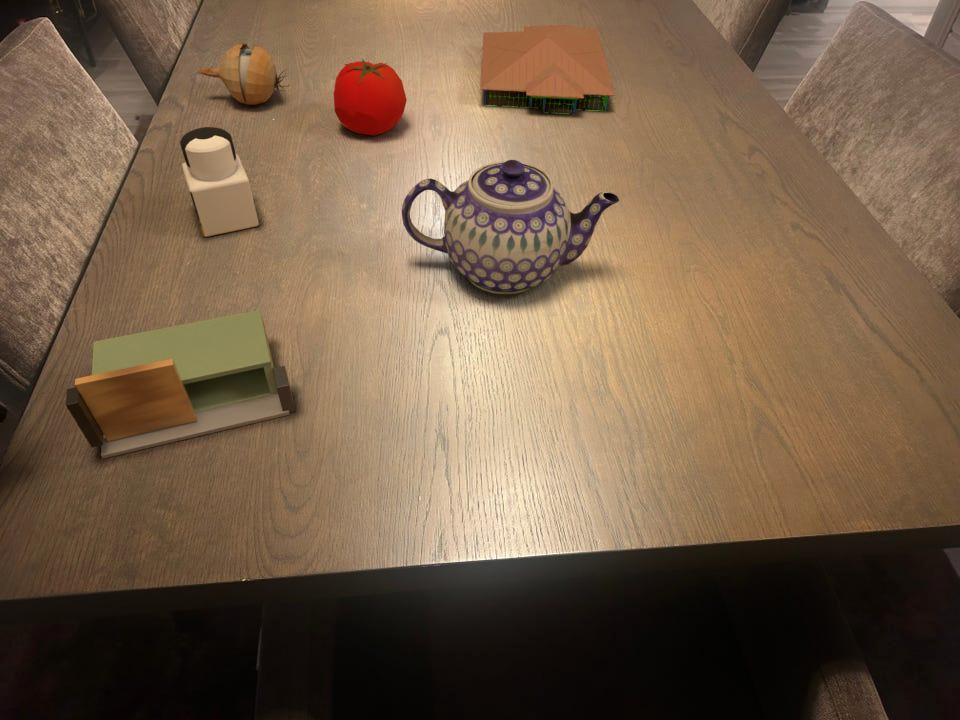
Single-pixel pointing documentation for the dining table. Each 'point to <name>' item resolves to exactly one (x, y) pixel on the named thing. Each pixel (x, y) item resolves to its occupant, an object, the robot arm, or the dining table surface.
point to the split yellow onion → (247, 74)
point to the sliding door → (129, 402)
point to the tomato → (369, 97)
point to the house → (546, 64)
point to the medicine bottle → (217, 182)
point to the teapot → (508, 226)
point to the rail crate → (204, 375)
